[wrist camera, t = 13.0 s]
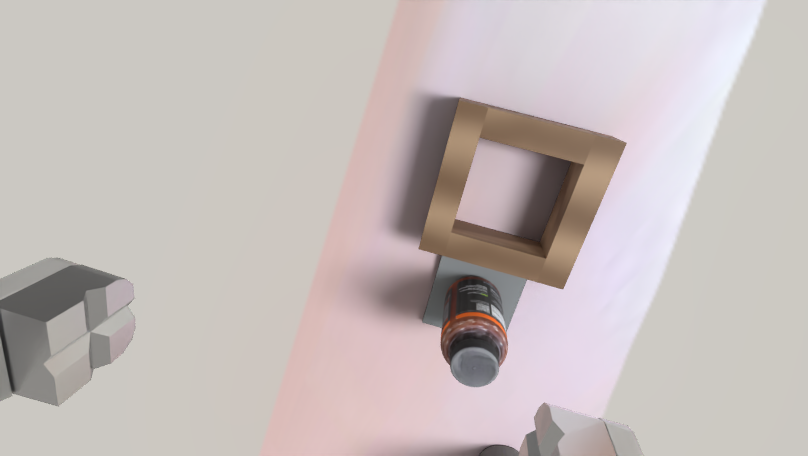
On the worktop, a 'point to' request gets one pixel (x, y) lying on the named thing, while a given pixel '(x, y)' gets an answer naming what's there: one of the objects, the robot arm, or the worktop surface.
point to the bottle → (499, 451)
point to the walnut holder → (570, 213)
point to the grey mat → (457, 269)
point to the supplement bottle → (473, 331)
